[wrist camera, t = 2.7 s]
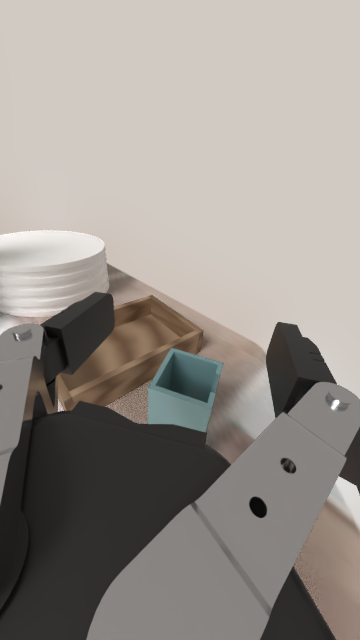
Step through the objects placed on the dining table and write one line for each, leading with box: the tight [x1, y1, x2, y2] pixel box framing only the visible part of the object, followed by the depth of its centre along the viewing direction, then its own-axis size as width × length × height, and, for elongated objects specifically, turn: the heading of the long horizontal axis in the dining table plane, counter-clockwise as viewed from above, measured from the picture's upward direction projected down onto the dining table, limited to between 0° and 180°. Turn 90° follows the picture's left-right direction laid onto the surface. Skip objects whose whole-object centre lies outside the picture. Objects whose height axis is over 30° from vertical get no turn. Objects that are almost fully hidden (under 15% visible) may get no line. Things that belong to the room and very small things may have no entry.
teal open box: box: [148, 348, 223, 432], centre depth 25 cm, size 6×6×12 cm
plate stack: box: [0, 230, 109, 317], centre depth 56 cm, size 28×28×12 cm
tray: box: [57, 295, 203, 411], centre depth 39 cm, size 24×16×5 cm, turn 131°
